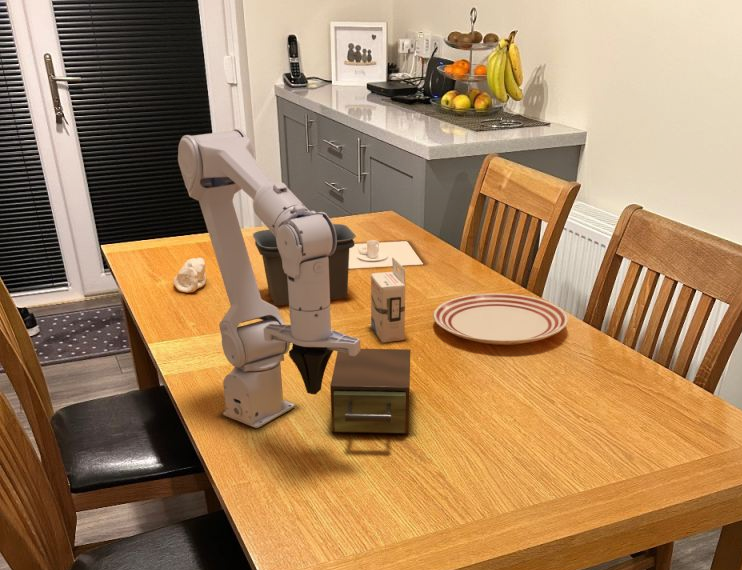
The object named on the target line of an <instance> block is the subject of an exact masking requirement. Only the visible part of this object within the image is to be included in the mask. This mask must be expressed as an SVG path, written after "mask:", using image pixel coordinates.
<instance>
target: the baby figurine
mask: <svg viewBox="0 0 742 570" xmlns="http://www.w3.org/2000/svg"><path fill="white" fill-rule="evenodd" d="M172 280H173V285H174V287H175V288H176V289H177V290H178V291H179V292H180V293H187V294H190V293H191V294H192V293H194V292H195V291H197V290H198V289H200V288H202V287H204V286H205V284H206V282H207V273H206V262H205V259H204V257H201V256H200V257H197V258H196V257H195V258H194V257H193V258H190V259H187V260H186V261H185V262H184V264H183V265H182V267H181V268H180V270H179V271H178V273H177V274H176V275H175V276H174V277H173V279H172Z"/></svg>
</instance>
